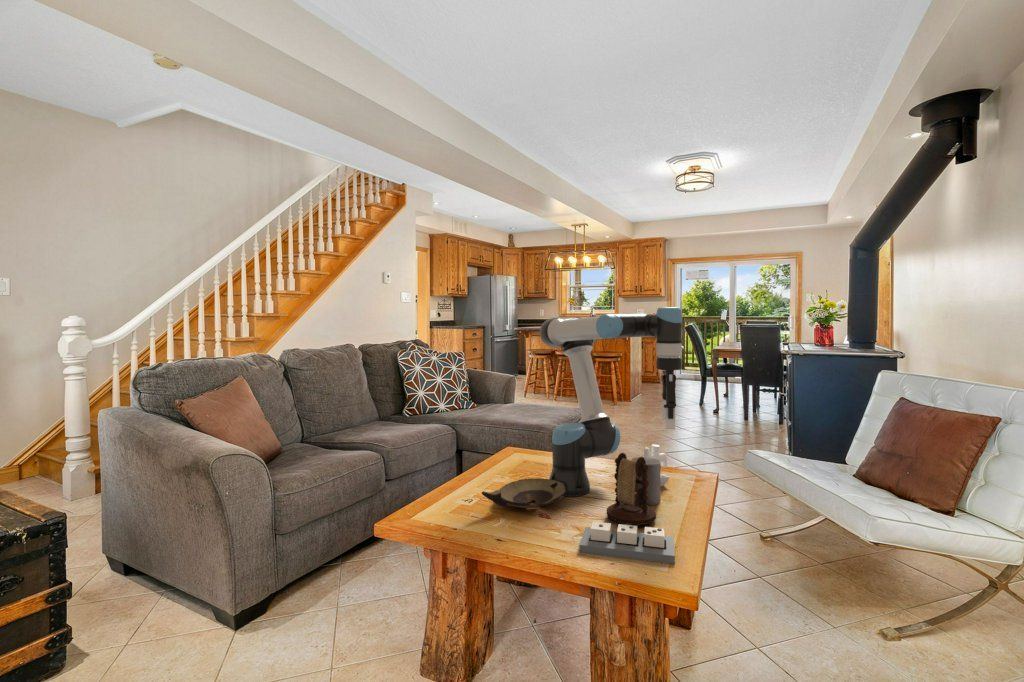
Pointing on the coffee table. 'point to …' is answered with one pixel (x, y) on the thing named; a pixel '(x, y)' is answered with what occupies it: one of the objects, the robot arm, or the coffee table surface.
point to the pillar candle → (651, 480)
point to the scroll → (631, 493)
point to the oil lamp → (527, 493)
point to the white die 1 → (601, 531)
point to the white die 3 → (654, 537)
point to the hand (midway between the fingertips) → (668, 424)
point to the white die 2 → (627, 534)
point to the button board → (628, 548)
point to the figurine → (659, 456)
